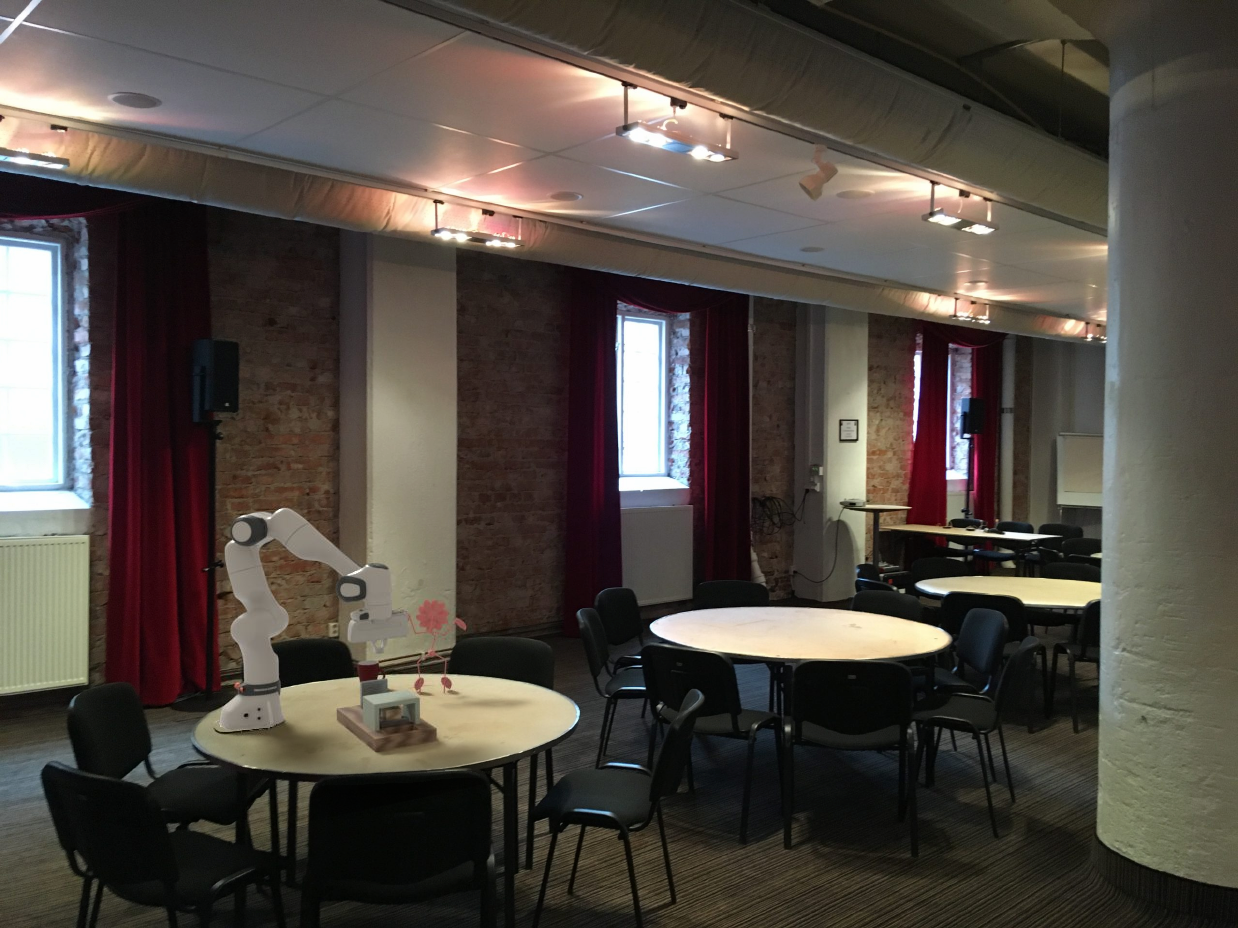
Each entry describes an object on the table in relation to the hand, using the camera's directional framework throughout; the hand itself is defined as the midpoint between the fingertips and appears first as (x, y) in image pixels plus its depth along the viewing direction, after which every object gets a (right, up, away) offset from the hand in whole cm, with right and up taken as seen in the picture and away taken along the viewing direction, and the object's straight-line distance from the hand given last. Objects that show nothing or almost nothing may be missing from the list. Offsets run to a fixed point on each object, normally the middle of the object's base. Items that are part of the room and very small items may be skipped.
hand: (379, 653), depth 323 cm
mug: (-16, -24, +52) cm, 59 cm away
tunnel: (+6, -21, -9) cm, 24 cm away
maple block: (+6, -21, -9) cm, 24 cm away
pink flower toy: (+9, -24, +48) cm, 54 cm away
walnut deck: (+3, -25, -4) cm, 25 cm away
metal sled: (+3, -21, -4) cm, 21 cm away
